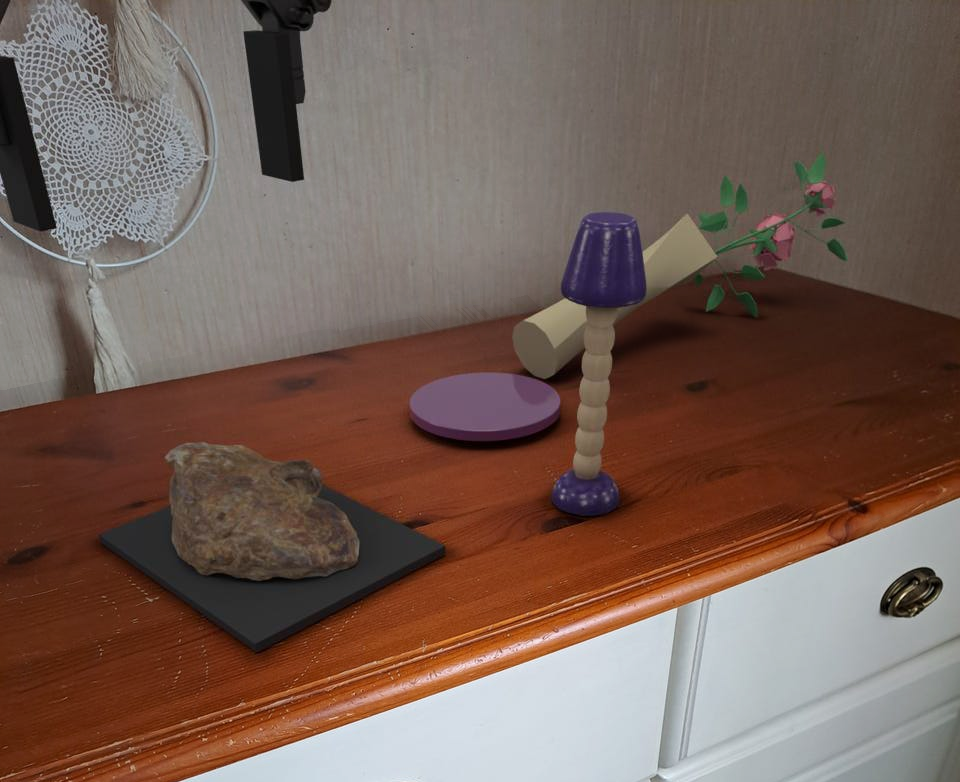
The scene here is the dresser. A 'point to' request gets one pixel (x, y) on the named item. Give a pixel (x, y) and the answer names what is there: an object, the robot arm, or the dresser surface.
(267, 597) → the place mat
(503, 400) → the saucer
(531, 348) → the flower vase
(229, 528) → the brown rock
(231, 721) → the dresser surface
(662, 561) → the dresser surface
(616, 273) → the toy lamp
